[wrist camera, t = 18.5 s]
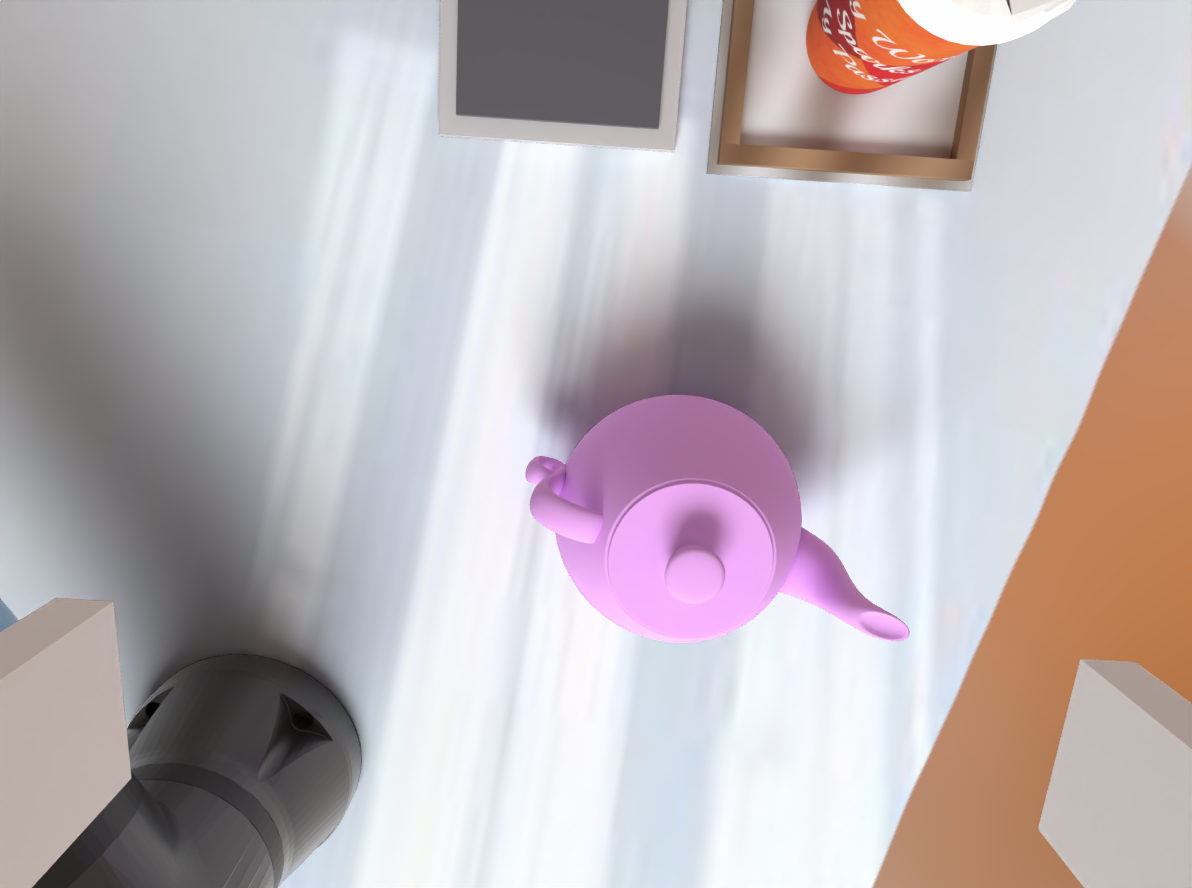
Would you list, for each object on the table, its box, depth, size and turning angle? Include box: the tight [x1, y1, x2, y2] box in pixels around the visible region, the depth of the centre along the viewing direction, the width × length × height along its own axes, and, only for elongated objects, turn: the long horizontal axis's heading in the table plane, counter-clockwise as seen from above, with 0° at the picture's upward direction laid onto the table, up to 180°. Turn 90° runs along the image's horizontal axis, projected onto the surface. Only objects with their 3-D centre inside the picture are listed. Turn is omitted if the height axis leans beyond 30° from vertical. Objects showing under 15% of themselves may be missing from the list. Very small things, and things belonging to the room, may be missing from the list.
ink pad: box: [439, 0, 687, 152], centre depth 39 cm, size 13×13×1 cm
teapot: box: [526, 395, 910, 643], centre depth 40 cm, size 20×14×12 cm
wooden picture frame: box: [707, 0, 997, 192], centre depth 39 cm, size 15×15×1 cm
